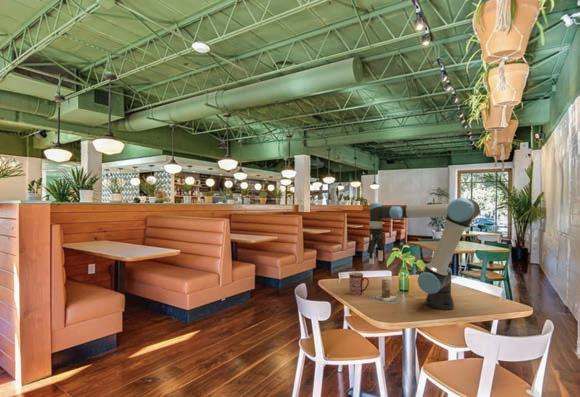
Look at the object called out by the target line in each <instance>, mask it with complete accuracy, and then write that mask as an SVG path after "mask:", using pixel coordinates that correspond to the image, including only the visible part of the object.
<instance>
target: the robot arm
mask: <svg viewBox="0 0 580 397" xmlns="http://www.w3.org/2000/svg"><path fill="white" fill-rule="evenodd" d="M368 211H369V222H368V225H369V235H370V236H369V242H368V245H367V246H368V247H367V253H368V254H369V255H368V259H369V261H368V264H369V265H375V253H374V251H375V247H376V246H377V248H378V250H377V252H378V253H377V261H379V262H383V259H384V258H383V257H384V255H383V254H384V253H383V252H384V251H385V245H384V241H383V235H382V234H383V229H382V228H383V219H385V220H386V219H387V220H391V219H392V220H400V219H412V218H413V219H417V218H419V219H420V218H421V219H422V218H425V219H426V218H445V219H444V220H445V222H446V224H445V227H444V229H443V232H442V234H441V236H440V239H439V241H438V243H437V246H436V248H435V250H434V253H433V255H432V258H431V261H430V262H428V263H426V264H425V266H424V268H423V271H422V272H421V273H420V274H419V275H418V277H417V284H418V285H417V286H419V289H420V290H422V291H423V292H425V293H426V294H427V295H426V298H425V301H424V303H425V305H426V306H427V307H430V308H432V309H436V310H442V311H443V310H444V311H450V310H453V309H455V303H454V299H453V296H452V268H451V267H449V265H450V264H451V261H452V259H453V256H454V254H455V251H456V249H457V246H458V245H459V242H460V240H461V238H462V235H463V233H464V231H465V230H467V229H469V228H470V226H471V223H472V221H473V220H474V219H476V218H477V217H478V216H479V215H480V205H479V204H478V202H477V201H475V200H473V199H472V198H466V197H465V198H464V197H459V198H456V199H454V200H452V201H450V202H449V203H438V204H434V203H433V204H419V205H401V206H399V205H394V206H391V205H389V206H387V205H386V206H383V204H382V203H381V202H376V203H375V202H371V203H370V204H369V210H368Z"/></svg>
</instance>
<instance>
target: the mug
mask: <svg viewBox="0 0 580 397" xmlns="http://www.w3.org/2000/svg"><path fill="white" fill-rule="evenodd" d="M348 276H349V277H348V278H349V295H352V296H356V297H357V296H358V297H360V296H362V295H363V292H364V291H365V290H366V289H367V288H368V286H369V284H370V280H369V278H368V277H366V276H364V273H362V272H355V271H353V272H349V273H348ZM363 276H364V277H363ZM365 279H366V281H367V284H366V286H365V287H364V288H363V282H364V281H365Z"/></svg>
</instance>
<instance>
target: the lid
mask: <svg viewBox="0 0 580 397" xmlns="http://www.w3.org/2000/svg"><path fill="white" fill-rule="evenodd" d="M377 294H378V293H377ZM375 295H376V294H375ZM396 297H397V296H394V295H391V280H390V279H381V293H380V294H378V295H376V299H378V300H381V301H386V302H393V301H396Z"/></svg>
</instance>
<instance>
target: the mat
mask: <svg viewBox="0 0 580 397" xmlns="http://www.w3.org/2000/svg"><path fill="white" fill-rule="evenodd" d="M378 294H381V293H379V292H378V293H376V294H375V295H372V296H371V297H369V298H368V300H372V301H375V302H381V303H385V304H389V305H396V304H397V303H399V302H400V301H402V300H403V299H404V298H403V297H400V296H395V297H396V301H393V302H386V301H381V300H378V299H376V295H378Z"/></svg>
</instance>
